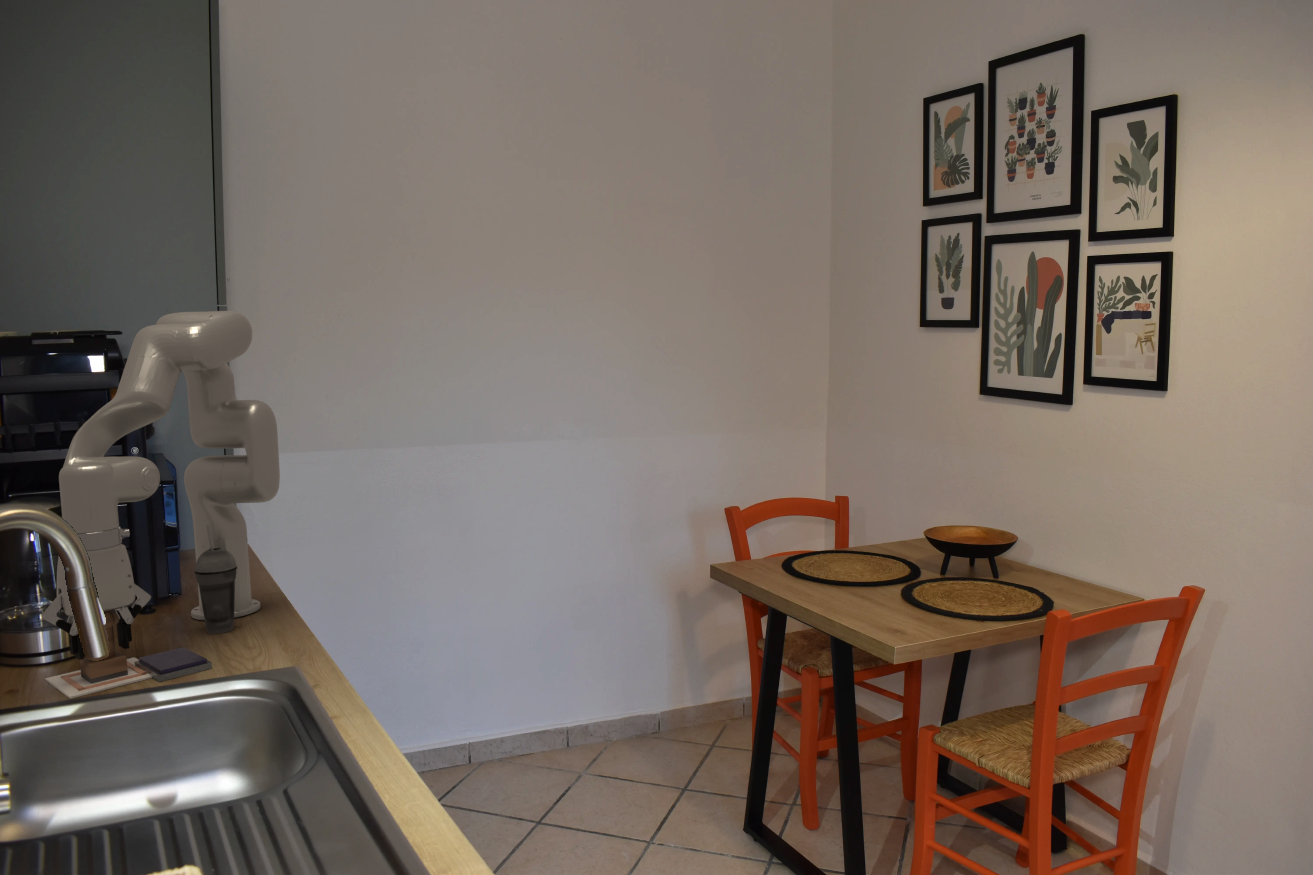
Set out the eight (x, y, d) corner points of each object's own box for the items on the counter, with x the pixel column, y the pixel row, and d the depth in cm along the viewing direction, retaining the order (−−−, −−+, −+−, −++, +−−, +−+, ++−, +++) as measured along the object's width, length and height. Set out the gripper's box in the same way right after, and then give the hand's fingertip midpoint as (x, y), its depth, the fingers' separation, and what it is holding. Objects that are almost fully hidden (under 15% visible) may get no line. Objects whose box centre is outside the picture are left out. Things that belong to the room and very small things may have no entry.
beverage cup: (220, 637, 167) (212, 529, 166) (189, 634, 170) (181, 527, 168) (250, 626, 174) (243, 522, 172) (220, 623, 177) (213, 520, 175)
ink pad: (135, 667, 152) (134, 657, 152) (185, 654, 158) (185, 645, 157) (159, 681, 144) (158, 671, 144) (212, 668, 150) (211, 658, 150)
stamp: (81, 676, 147) (75, 609, 146) (117, 667, 151) (111, 602, 150) (91, 683, 143) (85, 614, 142) (128, 674, 147) (122, 607, 146)
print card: (45, 680, 147) (45, 676, 147) (134, 658, 156) (134, 655, 156) (69, 698, 138) (69, 695, 138) (162, 675, 147) (162, 672, 147)
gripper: (143, 529, 154) (151, 635, 155) (22, 547, 141) (32, 661, 143) (159, 534, 149) (168, 643, 150) (35, 553, 136) (46, 671, 138)
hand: (102, 651), depth 147 cm, fingers open, 5 cm apart
